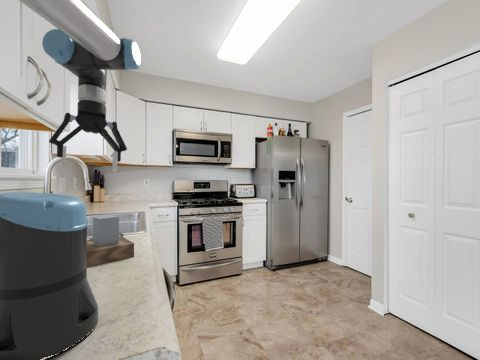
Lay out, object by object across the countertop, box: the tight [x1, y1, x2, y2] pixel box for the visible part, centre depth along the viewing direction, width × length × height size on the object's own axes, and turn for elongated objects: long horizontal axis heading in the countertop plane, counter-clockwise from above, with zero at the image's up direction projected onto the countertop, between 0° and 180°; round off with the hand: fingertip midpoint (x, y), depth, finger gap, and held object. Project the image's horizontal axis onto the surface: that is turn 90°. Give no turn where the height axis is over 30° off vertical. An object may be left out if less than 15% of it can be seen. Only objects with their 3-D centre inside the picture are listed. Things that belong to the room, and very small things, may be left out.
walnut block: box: [87, 236, 135, 267], centre depth 78 cm, size 14×14×5 cm
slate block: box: [92, 215, 120, 247], centre depth 78 cm, size 6×6×9 cm
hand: (90, 170), depth 71 cm, fingers open, 13 cm apart
